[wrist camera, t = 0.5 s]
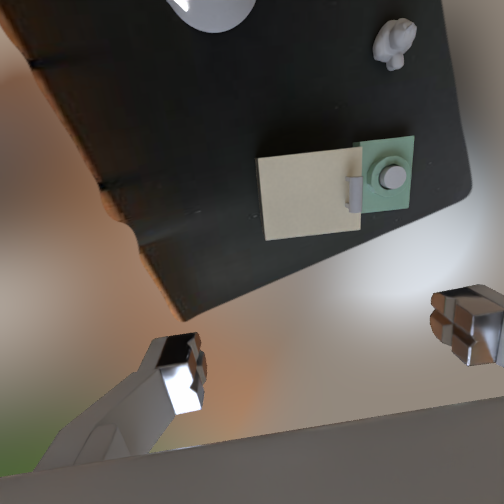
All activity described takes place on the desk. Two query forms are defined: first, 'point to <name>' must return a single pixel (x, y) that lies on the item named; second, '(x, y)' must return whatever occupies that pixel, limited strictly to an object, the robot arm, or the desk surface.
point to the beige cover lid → (311, 193)
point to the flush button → (392, 177)
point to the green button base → (375, 161)
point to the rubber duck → (394, 42)
